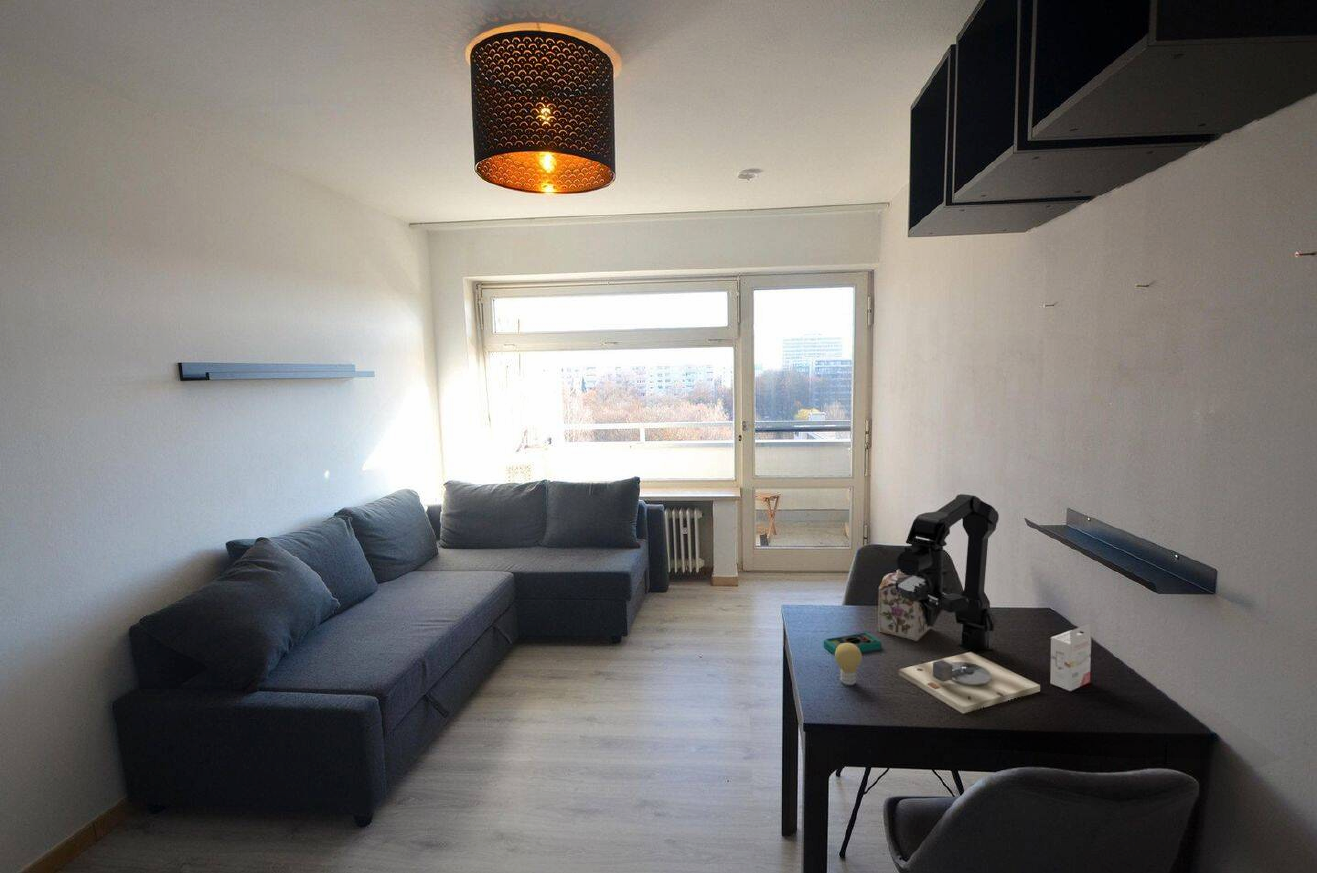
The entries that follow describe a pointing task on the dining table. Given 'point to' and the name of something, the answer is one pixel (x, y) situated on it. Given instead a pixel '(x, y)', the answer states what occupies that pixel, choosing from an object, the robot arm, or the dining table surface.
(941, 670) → the dial
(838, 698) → the dining table surface
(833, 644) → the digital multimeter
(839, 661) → the light bulb
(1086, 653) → the ink cartridge box
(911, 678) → the dial board
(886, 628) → the decorative jar
